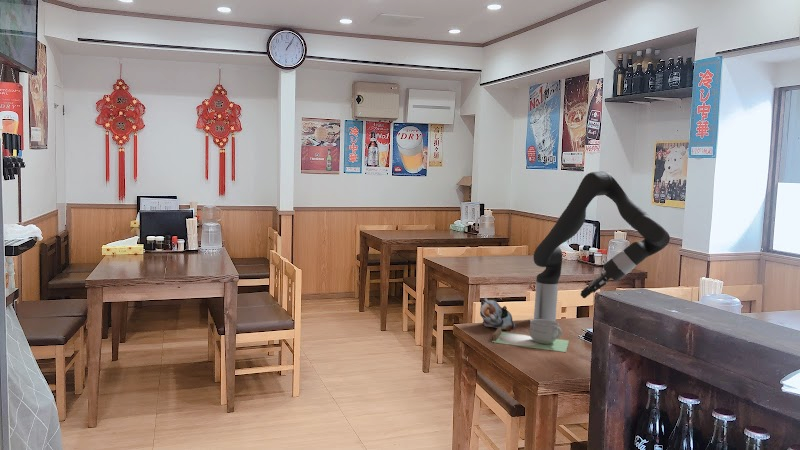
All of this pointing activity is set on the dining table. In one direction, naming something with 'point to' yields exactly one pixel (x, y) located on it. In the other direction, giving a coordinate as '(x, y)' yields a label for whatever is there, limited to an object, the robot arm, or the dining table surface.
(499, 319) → the lucky cat figurine
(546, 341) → the teacup
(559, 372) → the dining table surface
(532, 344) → the putting green
